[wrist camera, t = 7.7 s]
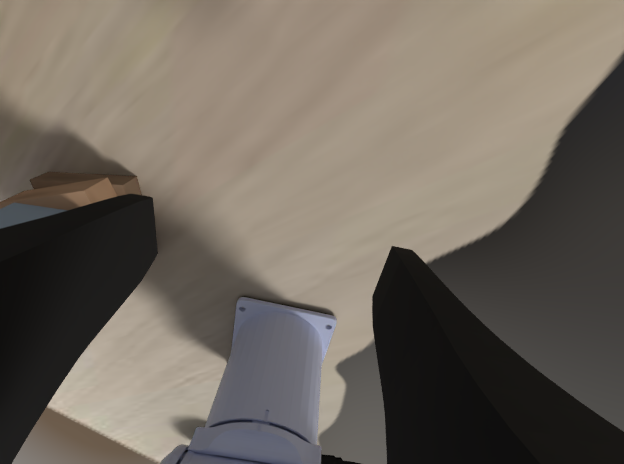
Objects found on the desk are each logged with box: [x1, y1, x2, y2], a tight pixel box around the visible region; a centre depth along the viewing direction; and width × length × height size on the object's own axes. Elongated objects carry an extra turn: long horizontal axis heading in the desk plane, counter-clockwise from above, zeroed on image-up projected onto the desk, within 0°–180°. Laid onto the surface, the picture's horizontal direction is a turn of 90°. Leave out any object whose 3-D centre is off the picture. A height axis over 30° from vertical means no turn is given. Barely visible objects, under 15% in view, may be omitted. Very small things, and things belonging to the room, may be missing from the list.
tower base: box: [30, 172, 158, 252], centre depth 22 cm, size 6×6×2 cm
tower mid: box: [0, 177, 117, 210], centre depth 20 cm, size 6×6×2 cm
